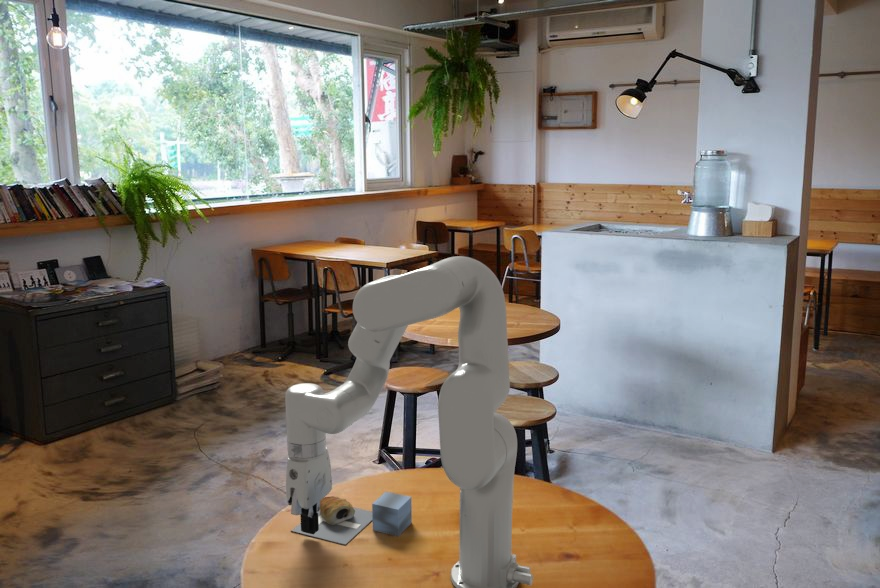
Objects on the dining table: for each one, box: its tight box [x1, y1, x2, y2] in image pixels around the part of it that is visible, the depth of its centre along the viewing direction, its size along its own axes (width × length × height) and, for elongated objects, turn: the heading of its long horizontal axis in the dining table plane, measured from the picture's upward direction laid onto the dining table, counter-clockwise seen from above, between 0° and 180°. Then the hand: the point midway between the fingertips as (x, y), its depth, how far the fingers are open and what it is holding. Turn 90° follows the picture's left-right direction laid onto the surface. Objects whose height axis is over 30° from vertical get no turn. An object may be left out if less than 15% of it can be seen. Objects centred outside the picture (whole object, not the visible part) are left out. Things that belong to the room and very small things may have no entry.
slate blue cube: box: [371, 491, 413, 537], centre depth 159 cm, size 6×6×6 cm
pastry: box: [320, 495, 355, 525], centre depth 164 cm, size 9×7×4 cm
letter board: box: [290, 507, 373, 546], centre depth 161 cm, size 13×14×1 cm
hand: (309, 531), depth 155 cm, fingers closed
